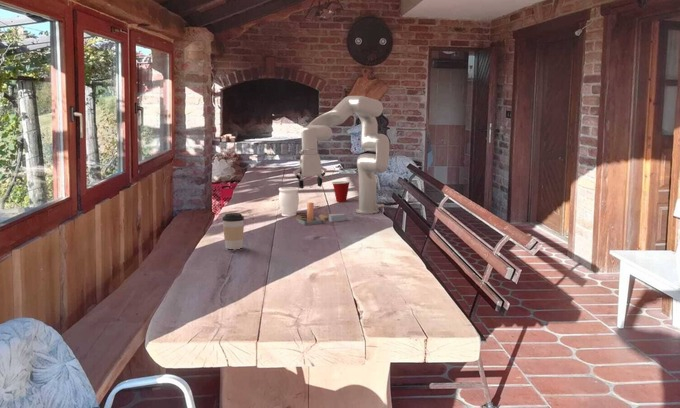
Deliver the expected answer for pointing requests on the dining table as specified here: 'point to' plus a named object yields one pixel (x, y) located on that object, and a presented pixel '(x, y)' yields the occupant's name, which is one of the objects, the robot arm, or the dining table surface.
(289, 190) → the jar
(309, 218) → the dowel
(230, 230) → the coffee cup
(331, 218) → the gray rectangular block
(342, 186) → the plastic cup
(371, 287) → the dining table surface
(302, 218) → the holder
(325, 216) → the tan wooden block
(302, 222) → the tray
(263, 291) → the dining table surface
